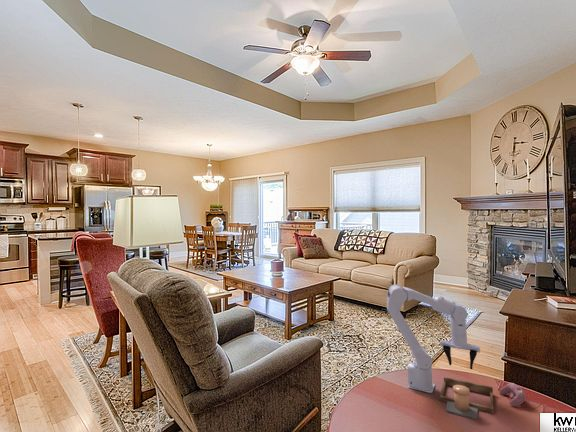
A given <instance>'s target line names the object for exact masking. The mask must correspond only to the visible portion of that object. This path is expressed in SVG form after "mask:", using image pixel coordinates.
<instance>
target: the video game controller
mask: <svg viewBox="0 0 576 432" xmlns="http://www.w3.org/2000/svg"><path fill="white" fill-rule="evenodd" d="M499 394H500V395H502V396H503V395H509V397H510V398H511V400H510V402H509V405H510V406H511V407H518V406H520V405H522V404H523V403H524V402H526V400H527V395H526V393H525V391H524V390H523V389H522V387H521V386H520V385H518V384H516V383H514V382H509V383H506V385H504V386H503V387H501V388H500V389H499Z"/></svg>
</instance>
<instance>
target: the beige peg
mask: <svg viewBox="0 0 576 432" xmlns="http://www.w3.org/2000/svg"><path fill="white" fill-rule="evenodd" d="M452 390H453V395H454V396H453V397H454V398H453V399H454V401H455V408H456V409H458V410H460V411H469V410H470V408H469V402H470V391H471V390H469V388H467V387H465V386H462V385H454V386H452Z"/></svg>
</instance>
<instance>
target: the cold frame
mask: <svg viewBox="0 0 576 432" xmlns="http://www.w3.org/2000/svg"><path fill="white" fill-rule="evenodd" d="M454 385H462V386H465V387H467V388H469V391H472V392H475V393H480V394H485V395H488V396H489V397H490V404H489V405H490V406H487V405H481V404H479V403H475V402H470V401H469V406H471V407H475V408H478V411H482V412H486V413H490V414H494V387H493V386H490V385H485V384H480V383H475V382H471V381H465V380H461V379H457V378H453V377H446V376H443V384H442V387H441V390H440V394H439V401H443V402H446V403H447V401H451V402H455V401H454V398H452V397H450V396H449V397H448V396H445V395H444V394H445V391H446V388H447V386H449V387H453V386H454Z"/></svg>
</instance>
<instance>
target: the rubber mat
mask: <svg viewBox="0 0 576 432" xmlns="http://www.w3.org/2000/svg"><path fill="white" fill-rule="evenodd" d="M469 408H470V410H469V411H460V410H458V409H456V408H455V402H451V401H447V402H446V406H445V410H444V411H445V413H450V414H453V415H456V416H461V417H465V418H468V419H472V420H476V421H477V420H478V412H479V410H478V408H475V407H471V406H469Z"/></svg>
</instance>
